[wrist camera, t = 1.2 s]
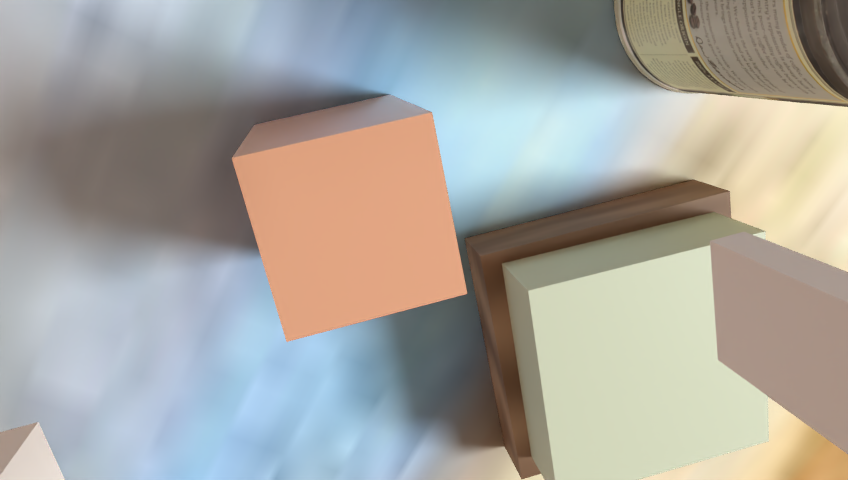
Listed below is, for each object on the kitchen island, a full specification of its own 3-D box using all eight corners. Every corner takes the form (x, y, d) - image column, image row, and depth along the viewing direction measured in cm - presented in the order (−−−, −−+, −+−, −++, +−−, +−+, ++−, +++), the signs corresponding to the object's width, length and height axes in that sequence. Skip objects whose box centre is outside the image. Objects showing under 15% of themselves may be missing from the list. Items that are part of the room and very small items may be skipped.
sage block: (501, 263, 33) (528, 290, 29) (713, 211, 34) (765, 231, 30) (531, 456, 36) (558, 503, 33) (721, 402, 38) (768, 441, 34)
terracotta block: (254, 124, 32) (231, 158, 21) (390, 94, 33) (432, 112, 22) (290, 254, 34) (286, 341, 23) (417, 222, 35) (467, 293, 24)
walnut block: (461, 234, 36) (480, 256, 32) (686, 177, 38) (729, 191, 34) (501, 439, 40) (521, 479, 37) (701, 380, 42) (741, 412, 38)
